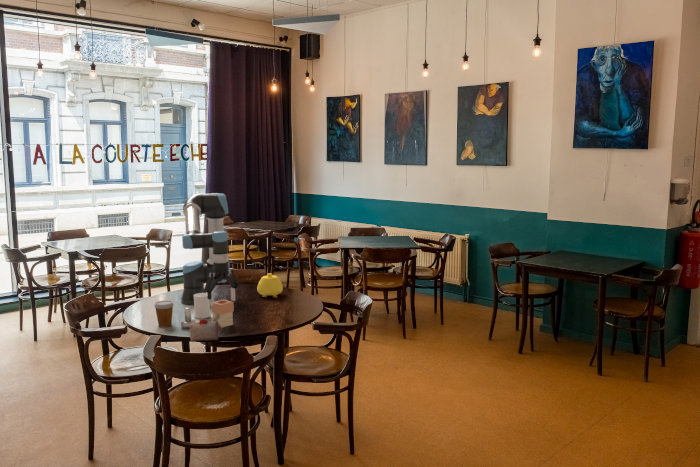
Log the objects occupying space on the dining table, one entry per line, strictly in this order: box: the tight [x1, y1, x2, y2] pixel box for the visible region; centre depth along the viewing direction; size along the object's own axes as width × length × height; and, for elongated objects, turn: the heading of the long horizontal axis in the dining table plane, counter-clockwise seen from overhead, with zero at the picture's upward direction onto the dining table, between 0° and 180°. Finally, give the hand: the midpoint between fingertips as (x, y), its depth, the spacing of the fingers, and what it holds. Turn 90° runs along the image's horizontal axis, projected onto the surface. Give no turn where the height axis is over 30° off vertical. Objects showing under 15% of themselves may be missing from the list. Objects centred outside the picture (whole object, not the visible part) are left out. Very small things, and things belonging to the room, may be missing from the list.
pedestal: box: [212, 312, 234, 329], centre depth 311 cm, size 7×7×7 cm
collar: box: [210, 299, 235, 315], centre depth 310 cm, size 8×8×5 cm
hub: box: [180, 307, 196, 330], centre depth 307 cm, size 7×7×10 cm
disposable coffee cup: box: [153, 300, 175, 328], centre depth 310 cm, size 10×10×12 cm
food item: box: [188, 318, 220, 342], centre depth 288 cm, size 14×8×10 cm, turn 98°
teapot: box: [256, 272, 284, 298], centre depth 373 cm, size 20×16×14 cm
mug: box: [193, 292, 211, 320], centre depth 328 cm, size 12×8×12 cm
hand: (222, 302), depth 309 cm, fingers open, 13 cm apart
